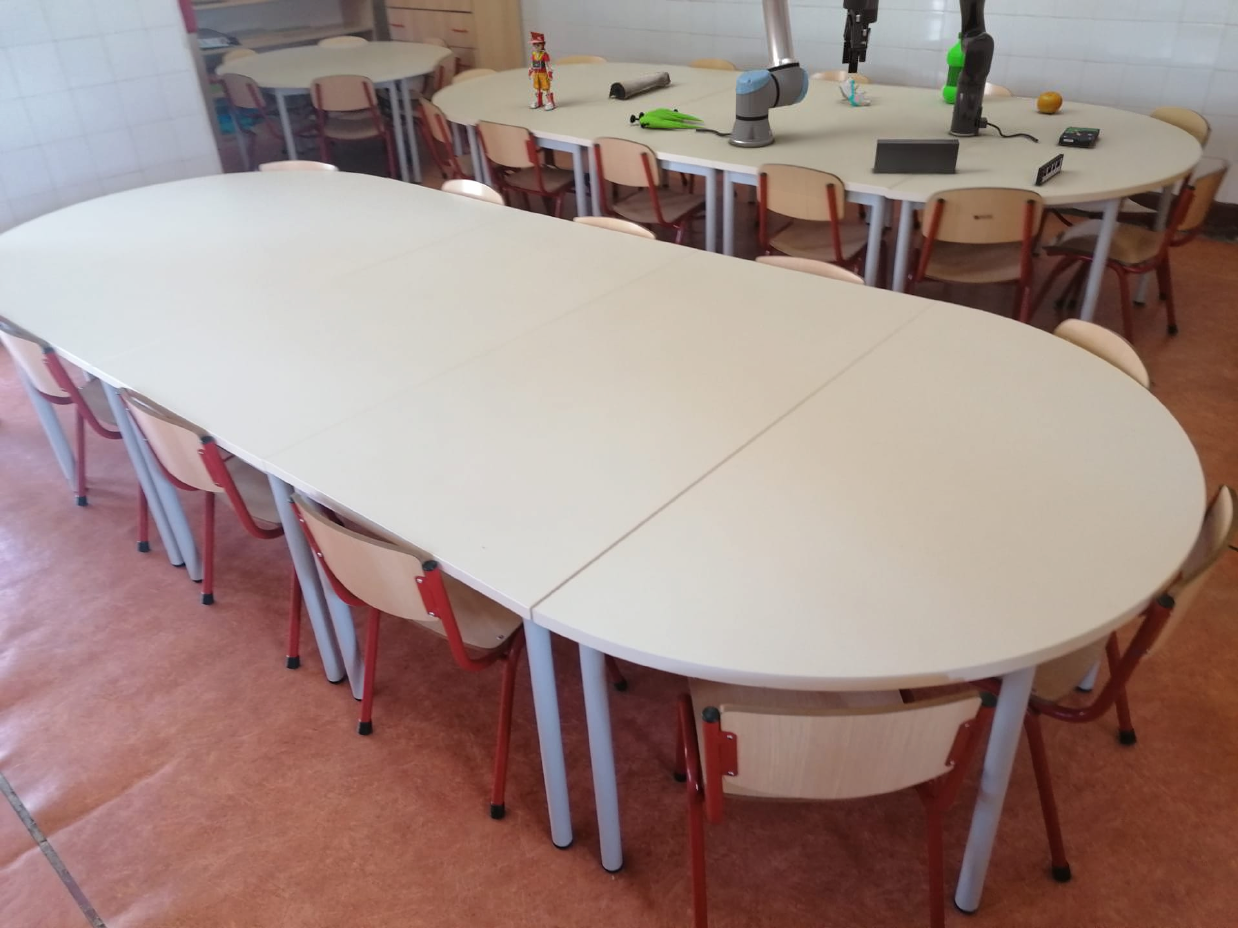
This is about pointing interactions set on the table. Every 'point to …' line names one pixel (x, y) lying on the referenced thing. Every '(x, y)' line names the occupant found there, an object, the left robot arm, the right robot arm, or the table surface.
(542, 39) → the toy
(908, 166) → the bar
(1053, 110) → the fruit
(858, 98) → the anatomical model
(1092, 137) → the disk drive
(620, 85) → the rolled mat
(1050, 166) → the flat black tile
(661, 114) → the toy
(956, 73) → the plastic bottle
